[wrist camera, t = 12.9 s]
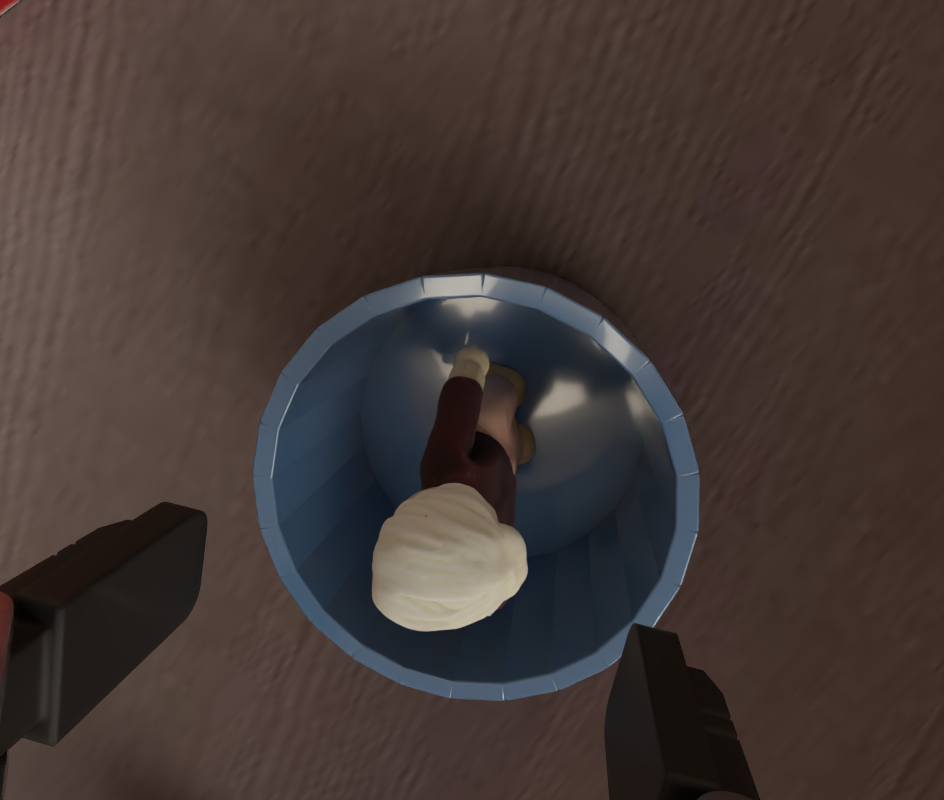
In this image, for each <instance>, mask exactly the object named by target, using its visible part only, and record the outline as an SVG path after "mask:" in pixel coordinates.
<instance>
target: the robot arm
mask: <svg viewBox="0 0 944 800" xmlns="http://www.w3.org/2000/svg"><path fill="white" fill-rule="evenodd" d="M206 533H207V516H206V514H205V513H204V512H203V511H200V510H196V509H192V508H189V507H185V506H181V505H177V504H173V503H169V502H162V503H160V504H158V505H156V506H155V507H153V508H152V509H150V510H148V511H147V512H145V513H143V514H142V515H140V516H139V517H137V518H135V519H134V520H132V521H131V520H125V521H121V522H118V523H115V524H111V525H108V526H104V527H101V528H98V529H96V530H95V531H93V532H91V533H89V534H88V535H86V536H84V537H83V538H81V539H79V540H78V541H76V543H75V545H74V544H71V545H69V546H67V547H66V548H64V549H62V550H61V551H59V552H58V553H57V555H56V556H54V555H52V556H50V557H49V558H47V559H45V560H44V561H42V562H40V563H38V564H37V565H35V566H33V567H32V568H30V569H28V570H27V571H25V572H23V573H22V574H20V575H18V576H16V577H15V578H13V579H11V580H10V581H8V582H6V583H5V584H3V585H1V586H0V800H4V794H5V786H6V778H7V770H8V754H9V749H10V748H11V747H12V746H13V745H14V744H15V743H16V742H18V741H19V740H20V739H21V738H25V739H29V740H32V741H36V742H39V743H42V744H46V745H49V746H52V747H54V746H55V745H56V744H57V743H58V742H59V741H60V740H61V739H62V738H63V737H64V736H65V735H66V734H67V733H68V732H69V731H70V730H71V729H72V728H74V727H75V726H76V725H77V724H78V723H79V722H80V721H81V720H82V719H83V718H84V717H85V716H86V715H87V714H88V713H89V712H90V711H91V710H92V709H93V708H94V707H95V706H96V705H97V704H98V703H99V702H101V701H102V700H103V699H104V698H105V697H106V696H107V695H108V694H109V693H110V692H111V691H112V690H113V689H114V688H115V687H116V686H117V685H118V684H119V683H120V682H121V681H122V680H123V679H124V678H125V677H126V676H127V675H129V674H130V673H131V672H132V671H133V670H134V669H135V668H136V667H137V666H138V665H139V664H140V663H141V662H142V661H143V660H144V659H145V658H146V657H147V656H148V655H149V654H150V653H151V652H152V651H153V650H154V649H155V648H157V647H158V646H159V645H160V644H161V643H162V642H163V641H164V640H165V639H166V638H167V637H168V636H169V635H170V634H171V633H172V632H173V631H174V630H175V629H176V628H177V627H178V626H179V625H180V624H181V623H182V622H184V620H185V619H186V618H187V617H188V616H189V614H190V612H191V611H192V609H193V607H194V605H195V603H196V600H197V598H198V594H199V591H200V585H201V577H202V568H203V559H204V550H205V541H206ZM730 717H731V716H730V713H729V710H728V707H727V705H726V702H725V699H724V696H723V693H722V692H721V691H720V690H719V689H718V687H717V686H716V685H715V684H714V683H713V681H712V680H711V679H710V678H709V677H708V675H707V674H706V673H705V672H704V671H703V670H700V669H696V668H692V667H688V666H686V662H685V659H684V655H683V652H682V649H681V645H680V642H679V638H678V636H677V634H676V633H672V632H668V631H665V630H661V629H657V628H653V627H649V626H645V625H641V624H637V623H633V624H632V626H631V628H630V630H629V632H628V635H627V639H626V642H625V645H624V649H623V652H622V656H621V659H620V662H619V666H618V669H617V673H616V676H615V679H614V683H613V686H612V690H611V693H610V697H609V700H608V705H607V710H606V717H605V731H604V735H605V749H606V762H607V774H608V787H609V800H760V798H759V795H758V792H757V789H756V787H755V784H754V781H753V778H752V775H751V772H750V770H749V767H748V764H747V761H746V758H745V756H744V753H743V750H742V747H741V744H740V741H739V740H737V733H736V730H735V727H734V724H733V722H732V721H730Z"/></svg>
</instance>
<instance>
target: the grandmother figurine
mask: <svg viewBox="0 0 944 800" xmlns="http://www.w3.org/2000/svg"><path fill="white" fill-rule="evenodd" d="M525 393H526V382H525V379H524V377H523V376H522V374H521V373H520V372H518V371H517V370H514V369H512V368H509V367H505V366H502V365H499V364H496V363H492V362H489V358H488V356H487V354H486V352H485V351H484V350H482V349H481V348H479V347H475V346H467V347H465V348H463V349H461V350H460V351H459V352H458V353H457V355H456V357H455V360H454V367H453V368H452V369H451V371H450V374H449V377H448V380H447V381H446V382H445V384H444V385H443V388H442V390H441V393H440V396H439V400H438V406H437V415H436V419H435V423H434V426H433V429H432V431H431V433H430V435H429V439H428V443H427V447H426V449H425V451H424V455H423V457H422V460H421V462H420V470H419V472H420V480H421V487H422V491H420V492H418V493H416V494H414V495H413V496H411V497H410V498H409V499H407V500H406V501H404V502H403V503H402V504H401V505H400V506H399V507H398V508H397V509H396V511H395V513H394V516H393V517H390V518H388V519H387V520H386V521H385V522H384V524H383V525H382V528H381V531H380V534H379V538H378V541H377V543H376V546H375V549H374V552H373V562H372V572H373V580H372V599H373V602H374V604H375V605H376V607H377V608H378V609H379V610H380V611H381V612H382V613H383V614H384V615H385V616H386V617H387V618H389V619H391V620H392V621H394V622H395V623H397V624H399V625H401V626H403V627H405V628H408V629H412V630H417V631H437V630H449V629H457V628H461V627H464V626H466V625H469V624H471V623H474V622H476V621H478V620H481V619H483V618H485V617H486V616H491V614H492V613H494V612H495V610H498V609H501V608H502V607H503V606H504V605H505V603H506V602H507V600H508V599H509V598H510V597H512V596H514V595H515V594H516V593H517V591H518V590H519V588H520V586H521V585H522V583H523V582H524V581H525V579H526V576H527V573H528V566H527V560H526V558H527V552H526V545H525V542H524V540H523V538H522V536H521V535H520V533H519V532H518V531H517V530H516V529H514V528H513V525H514V521H515V499H516V478H515V472H516V469H517V467H518V465H521V464H524V463H526V462H528V461H529V460H531V459H532V458H533V456H534V454H535V450H536V444H535V439H534V436H533V433H532V431H531V430H530V429H529V428H528V427H527V426H525V425H523V424H518V423H517V420H516V418H515V416H514V415H515V412H516V408H517V407H518V406H520V405H521V404H522V402H523V400H524V398H525Z"/></svg>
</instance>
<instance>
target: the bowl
mask: <svg viewBox="0 0 944 800" xmlns="http://www.w3.org/2000/svg"><path fill="white" fill-rule="evenodd" d="M467 346H475V347H479V348H481V349H482V350H484V351H485V352H486V354H487V356H488V358H489V362H492V363H496V364H499V365H502V366H505V367H509V368H512V369H514V370H517V371H518V372H520V373H521V374H522V376H523V377H524V379H525V382H526V393H525V398H524V400H523V402H522V404H521V405H520V406H518V407H517V408H516V412H515V415H514V416H515V418H516V420H517V423H518V424H523V425H525V426H527V427H528V428H529V429H530V430H531V431H532V433H533V436H534V439H535V444H536V450H535V454H534V456H533V458H532V459H531V460H529V461H528V462H526V463H524V464H521V465H518V467H517V469H516V472H515V478H516V499H515V521H514V525H513V528H514V529H516V530H517V531H518V532H519V533H520V535H521V536H522V538H523V540H524V542H525V545H526V552H527V558H526V560H527V566H528V573H527V576H526V579H525V581H524V582H523V583H522V585H521V586H520V588H519V590H518V591H517V593H516V594H515V595H514V596H512V597H510V598H509V599H508V600H507V602H506V603H505V605H504V606H503V607H502V608H501V609H498V610H495V612H494V613H492V614H491V616H486V617H485V618H483V619H481V620H478V621H476V622H474V623H471V624H469V625H466V626H464V627H461V628H457V629H449V630H437V631H417V630H412V629H408V628H405V627H403V626H401V625H399V624H397V623H395V622H394V621H392V620H391V619H389V618H387V617H386V616H385V615H384V614H383V613H382V612H381V611H380V610H379V609H378V608H377V607H376V605H375V604H374V602H373V599H372V580H373V572H372V562H373V552H374V549H375V546H376V543H377V541H378V538H379V534H380V531H381V528H382V525H383V524H384V522H385V521H386V520H387V519H388V518H390V517H393V516H394V513H395V511H396V509H397V508H398V507H399V506H400V505H401V504H402V503H403V502H404V501H406V500H407V499H409V498H410V497H411V496H413V495H414V494H416V493H418V492H420V491H422V487H421V480H420V472H419V470H420V462H421V460H422V457H423V455H424V451H425V449H426V447H427V443H428V439H429V435H430V433H431V431H432V429H433V426H434V423H435V419H436V415H437V406H438V400H439V396H440V393H441V390H442V388H443V385H444V384H445V382H446V381H447V380H448V377H449V374H450V371H451V369H452V368H453V367H454V360H455V357H456V355H457V353H458V352H459V351H460V350H461V349H463V348H465V347H467ZM253 484H254V491H255V499H256V507H257V514H258V522H259V527H260V531H261V533H262V536H263V538H264V541H265V543H266V546H267V548H268V551H269V553H270V556H271V558H272V561H273V563H274V566H275V568H276V571H277V573H278V576H279V577H280V580H281V581H282V583H283V584H284V586H285V587H286V588H287V590H288V591H289V593H290V594H291V596H292V597H293V598H294V600H295V601H296V603H297V604H298V605H299V607H300V608H301V610H302V611H303V612H304V614H305V615H306V617H307V618H308V620H309V621H311V623H312V624H313V625H314V626H316V627H317V628H318V629H319V630H320V631H321V632H322V633H324V634H325V635H326V636H327V637H328V638H329V639H330V640H331V641H333V642H334V643H335V644H336V645H337V646H338V647H339V648H340V649H342V650H343V651H344V652H345V653H346V654H347V655H348V656H350V657H351V656H352V658H353V659H354V660H356V661H358V662H360V663H362V664H364V665H365V666H367V667H369V668H371V669H373V670H374V671H376V672H378V673H380V674H382V675H384V676H385V677H387V678H389V679H391V680H393V681H395V682H397V683H398V682H399V684H400V685H404V686H407V687H411V688H414V689H418V690H421V691H425V692H428V693H432V694H435V695H439V696H443V697H446V698H451V697H452V698H453V699H472V700H493V701H504V700H507V701H508V700H513V699H519V698H524V697H529V696H534V695H540V694H545V693H550V692H555V691H558V689H559V690H562V689H564V688H566V687H568V686H570V685H572V684H575V683H577V682H579V681H581V680H583V679H585V678H587V677H590V676H592V675H594V674H596V673H598V672H600V671H602V670H604V669H606V668H607V666H608V667H609V666H611V665H612V664H613V663H614V662H616V661H617V660H618V659H619V658H620V657H621V656H622V652H623V649H624V645H625V642H626V639H627V635H628V632H629V630H630V628H631V626H632V624H633V623H637V624H641V625H645V626H649V627H654V626H655V624H656V623H657V621H658V620H659V618H660V617H661V615H662V614H663V613H664V611H665V610H666V608H667V607H668V605H669V604H670V602H671V601H672V599H673V598H674V596H675V595H676V593H677V592H678V590H679V589H680V585H681V584H682V583H683V580H684V577H685V573H686V570H687V567H688V564H689V561H690V558H691V555H692V551H693V548H694V545H695V542H696V539H697V536H698V530H699V497H700V474H699V467H698V464H697V460H696V456H695V453H694V449H693V445H692V442H691V438H690V435H689V431H688V427H687V424H686V420H685V417H684V415H683V412H682V410H681V408H680V407H679V405H678V403H677V402H676V400H675V398H674V397H673V395H672V394H671V392H670V390H669V389H668V387H667V385H666V384H665V382H664V380H663V379H662V377H661V376H660V374H659V372H658V371H657V369H656V367H655V366H654V364H653V362H652V361H651V360H650V358H649V357H648V355H647V354H646V353H645V351H644V350H643V348H642V347H641V346H640V344H639V343H638V341H637V340H636V339H635V337H634V336H633V334H632V333H631V332H630V330H629V329H628V327H626V325H625V324H624V323H623V322H622V321H621V320H620V319H619V318H618V317H616V316H615V315H614V314H613V313H612V312H611V310H610V309H608V308H607V307H606V306H605V305H604V304H603V303H601V302H600V301H599V300H598V299H597V298H596V297H594V296H593V295H592V294H590V293H588V292H586V291H584V290H582V289H581V288H579V287H578V286H576V285H574V284H572V283H570V282H567V281H565V280H563V279H561V278H559V277H557V276H554V275H552V274H547V273H543V272H539V271H536V270H530V269H524V268H520V267H515V266H512V267H511V266H500V267H481V268H468V269H462V270H456V271H449V272H443V273H437V274H431V275H425V276H420V277H416V278H413V279H410V280H407V281H404V282H401V283H398V284H395V285H393V286H390V287H387V288H384V289H381V290H378V291H375V292H372V293H369V294H367V295H365V296H362V297H361V298H359V299H358V300H356V301H355V302H353V303H352V304H350V305H349V306H348V307H346V308H345V309H343V310H342V311H340V312H339V313H337V314H336V315H334V316H333V317H332V318H330V319H329V320H327V321H326V322H324V323H323V324H321V325H320V326H319V327H318V328H317V329H316V330H314V332H313V333H312V334H311V335H310V337H309V338H308V339H307V340H306V341H305V343H304V344H303V345H302V346H301V348H300V349H299V350H298V351H297V352H296V354H295V355H294V356H293V357H292V359H291V360H290V361H289V362H288V363H287V365H286V366H285V367H284V368H283V370H282V372H281V373H280V375H279V377H278V380H277V382H276V384H275V387H274V389H273V391H272V394H271V396H270V398H269V401H268V403H267V405H266V408H265V410H264V412H263V415H262V417H261V419H260V423H259V429H258V436H257V444H256V452H255V459H254V467H253Z"/></svg>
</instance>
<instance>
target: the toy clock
mask: <svg viewBox="0 0 944 800" xmlns="http://www.w3.org/2000/svg"><path fill="white" fill-rule="evenodd" d="M19 1H20V0H0V16H1V15H2V14H3V13H5V12H6V11H7V10H9V9H10V8H11V7H13V6H14V5H15V4H16V3H18V2H19Z"/></svg>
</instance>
